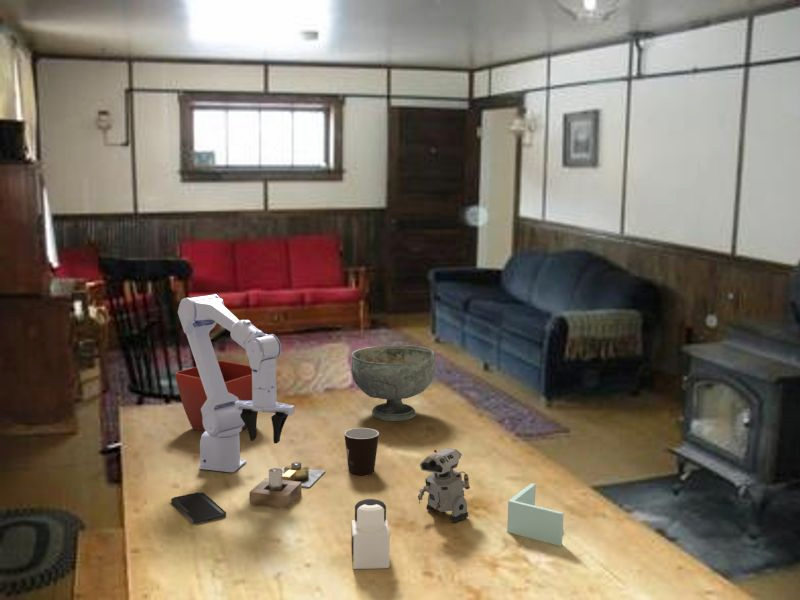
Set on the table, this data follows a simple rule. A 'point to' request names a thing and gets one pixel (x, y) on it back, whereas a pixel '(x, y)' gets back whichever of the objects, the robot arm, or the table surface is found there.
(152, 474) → the table surface
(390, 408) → the decorative bowl
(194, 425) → the plant pot
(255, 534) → the table surface
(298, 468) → the ring nut
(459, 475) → the figurine
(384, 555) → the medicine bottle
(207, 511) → the phone
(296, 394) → the table surface
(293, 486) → the socket block
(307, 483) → the plate
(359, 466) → the coffee mug
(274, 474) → the pin
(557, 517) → the l-shaped corner panel
